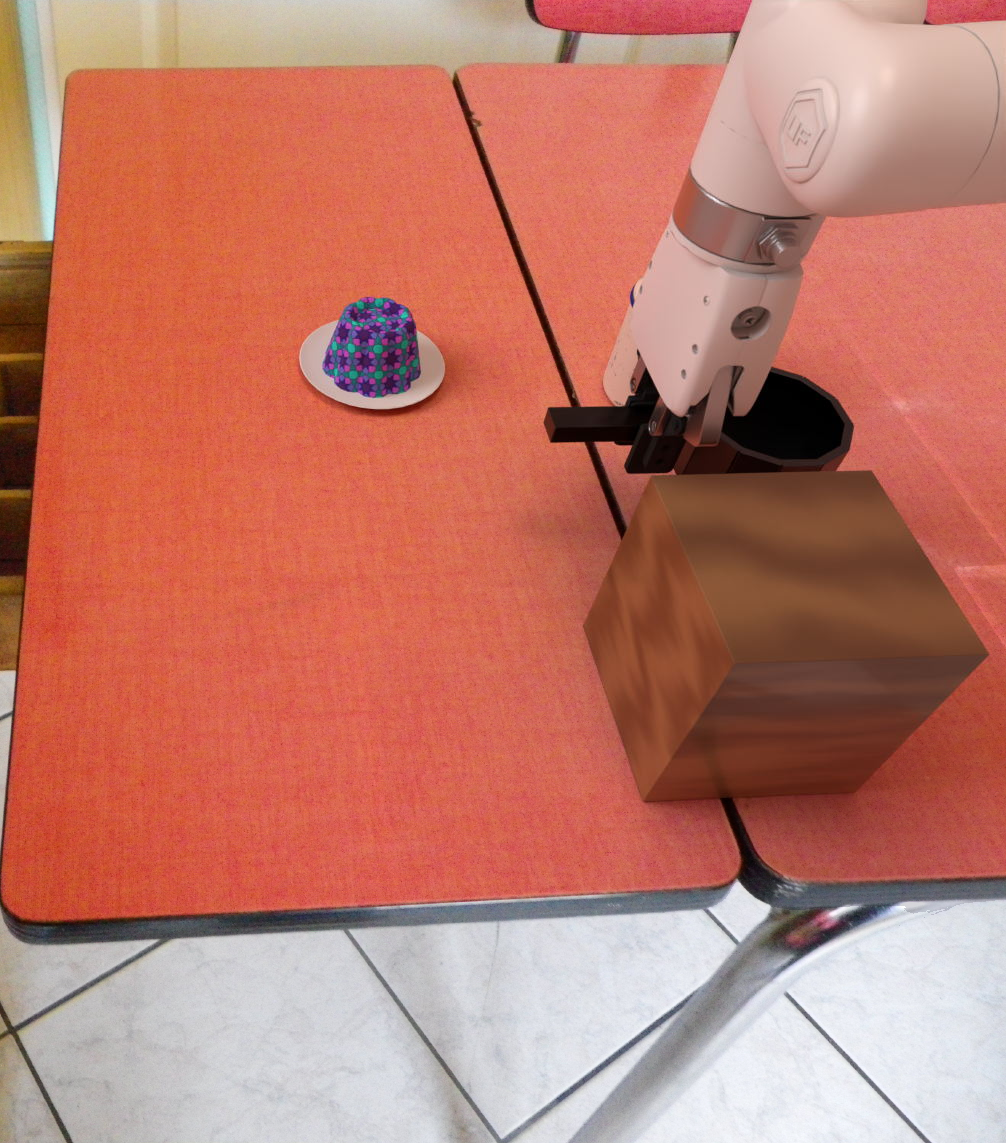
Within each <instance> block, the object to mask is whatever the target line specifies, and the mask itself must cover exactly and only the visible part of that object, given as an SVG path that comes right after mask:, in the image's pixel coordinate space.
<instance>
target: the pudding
mask: <svg viewBox="0 0 1006 1143" xmlns="http://www.w3.org/2000/svg"><path fill="white" fill-rule="evenodd" d="M298 360H299V367H300V369H301V371H302V373H303V376H305V378H306V380H307V381H308V382H309V383H310V384H311V385H312V386H313V387H314V389H316V390H317V391H319V392H320V393H322V394H323V395H325V396H327V397H329V398H331V399H333V400H335V401H336V402H339V403H342V404H345V405H349V406H353V407H358V408H361V409H362V408H363V409H372V410H391V409H398V408H404V407H407V406H410V405H414V404H416V403H419V402H421V401H423V400H425V399H426V398H428V397H430V396H431V395H433V393H434V392H435V391H436V390H438V389H439V387H440V385H441V384H442V382H443V380H444V377H445V374H446V363H445V360H444V356H443V354H442V352H441V351H440V348H439V347H438V346H437V345H436V344H435V343H434V342H433V340H431V339H430V338H429V337H428V336H427V335H425V334H424V333H422V332H421V331H419V330H418V329H417V325H416V321H415V319H414V316H413V314H412V312H411V310H410V309H409V308H408V306H405V305H404V304H401V303H397V301H396V300H394V299H393V298H390V297H385V296H382V297H378V298H377V297H374V296H365V297H361V298H359V300H358V301H353V302H351V303H349V304H347V305H346V306H345V307H344V309H343V310H342V312H341V314H340V316H339V319H337V320H333V321H331V322H328V323H325V324H323V325H321V326H320V327H318V328H316V329H315V330H313V331H312V332H311V333H310V334H309V335H308V336H307V337H306V338H305V340H304V341H303V343H302V345H301V347H300V350H299V358H298Z"/></svg>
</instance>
